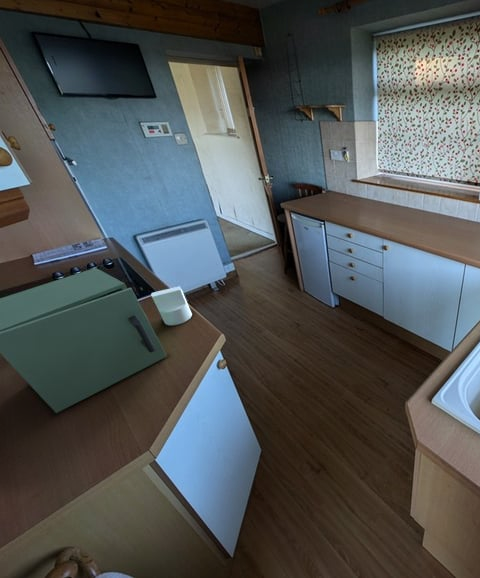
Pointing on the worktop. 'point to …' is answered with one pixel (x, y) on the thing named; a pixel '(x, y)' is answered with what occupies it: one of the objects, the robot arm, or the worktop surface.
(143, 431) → the worktop surface
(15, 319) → the cupboard
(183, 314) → the base with upright slab
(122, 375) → the cupboard door
